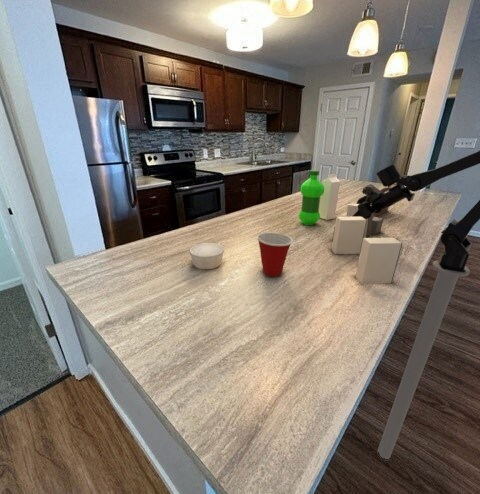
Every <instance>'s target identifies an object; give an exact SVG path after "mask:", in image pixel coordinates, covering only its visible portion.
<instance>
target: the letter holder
mask: <svg viewBox="0 0 480 494" xmlns="http://www.w3.org/2000/svg"><path fill="white" fill-rule="evenodd" d="M391 188H392V186H391V187H389V188H388V187H383V188H381V189H379V190H380V191H381V192H382V193H383V192H384V191H387V190H389V189H391ZM369 199H371V198H369V197H368V196H367V195H363V196H362V197H359V198H358V199H357V200H356V204H361V203H363V202H365V201H366V202H369V203H370V204H371V202H370V200H369ZM388 211H389V208H388V209H386V210H384V211H382V212H380V213H375V214H374V217H379V216H381V215H382V214H384V213H386V212H388Z"/></svg>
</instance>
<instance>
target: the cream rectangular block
mask: <svg viewBox="0 0 480 494" xmlns="http://www.w3.org/2000/svg"><path fill="white" fill-rule="evenodd" d="M358 205H359V204H357V203H355V202H351V203H349V204H347V211H346V217H352V216H353V215H354V214H355V213H356V212H357V211H358ZM371 206H372V205H371ZM373 209H374V208H373ZM366 220H367V222H366V227H365V232H364V237H363V238H371V236H372V234H371V229H372V221H373V216H372V217H370V218H368V219H366Z"/></svg>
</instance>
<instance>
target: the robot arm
mask: <svg viewBox="0 0 480 494" xmlns="http://www.w3.org/2000/svg"><path fill="white" fill-rule="evenodd" d="M478 165H480V150H478V151H476V152H473V153H470V154H468V155H466V156H463V157H461V158H458V159H457V160H454V161H452V162H449V163H446V164H444V165H441V166H439V167H437V168H434V169H430V170H426V171H422V172H418V173H414V174H412V175H402V173H401V172H400V170H399V169H398V167H397V165H396V164H395V163H393V164H390V165H388V166H386V167H385V168H383V169H380V170H379V171H377V172H376V173H375V175H376V177H377V178H378V180H379V182H380V183H381V185H382V186H383V188H389V187H391V189H389V190H387V191H384V192H383V193H382V192H381V191H380V190H381V189H379V188H377V187H376V186H375V185H374V184H371V183H369V184H367V185H366V186H365V187H363V188H362V190H361V193H362V194H363V195H364V196H366V195H367V196H368V197H369V198H371V199H369V200H370V202H371V204H370V203H369V202H366V201H365V202H363V203H361V204H359V205H358V211H357V212H356V213H355V214H354V215H353V216H352V217H363V218H365V219H368V218H370V217H372V216H374V214H375V213H380V212H382V211H384V210H386V209H388V210H389V208H390V207H392V206H394V205H396V204H397V203H399V202H401V201H403V200H405V199H406V200H407V201H408V202H411V201H414V198H415V196H416V192H419V191H421V190H423V189H425V188H427V187H429V186H430V185H432V184H434V183H436V182H438V181H440V180H442V179H444V178H446V177H449V176H451V175H454V174H457V173H459V172H462V171H464V170H467V169H469V168H472V167H474V166H478ZM371 205H372V206H371ZM373 208H374V209H373ZM479 221H480V199H479V200H478V201H477V202H476V203H475V204H474V206H472V207H471V209H470V210H468V211H467V213H466V214H465V215H464V216H463V217H462V218H461V219H459V220H456V219H454V218H453V219H452V220H451V221H450V222H449V223H448V225H447V227H445V228H444V229H443V230H442V231H441V232H440V233H441V235H440V242H441V244H442V245H443V246H444V247H443V250H442V251H440V253H439V256H438V258H437V260H438V263H439V264H440V266H441V268H442V269H446V270H452V271H458V272H466V271H465V269H464V268H465V267H466V265H467V263H468V260H469V257H470V252H469V251H470V249H471V247H472V246H473V244H472V242H471V241H470V240H469V238H468V235H469V234H470V233H471V231H472V229H473V227H474V226H475V225H476V224H477V223H478V222H479Z"/></svg>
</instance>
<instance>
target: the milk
mask: <svg viewBox="0 0 480 494" xmlns="http://www.w3.org/2000/svg"><path fill="white" fill-rule="evenodd" d="M321 183H322V184H323V185H324V193H323V195H321V196H320V203H319V214H320V219H323V220H324V221H325V220H326V221H329V220H333V219H335V218H336V211H337V204H338V199H339V191H340V185H341V180H340V179H338V177H337V173H331V174H327V178H325V179H323V180H322V181H321Z"/></svg>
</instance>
